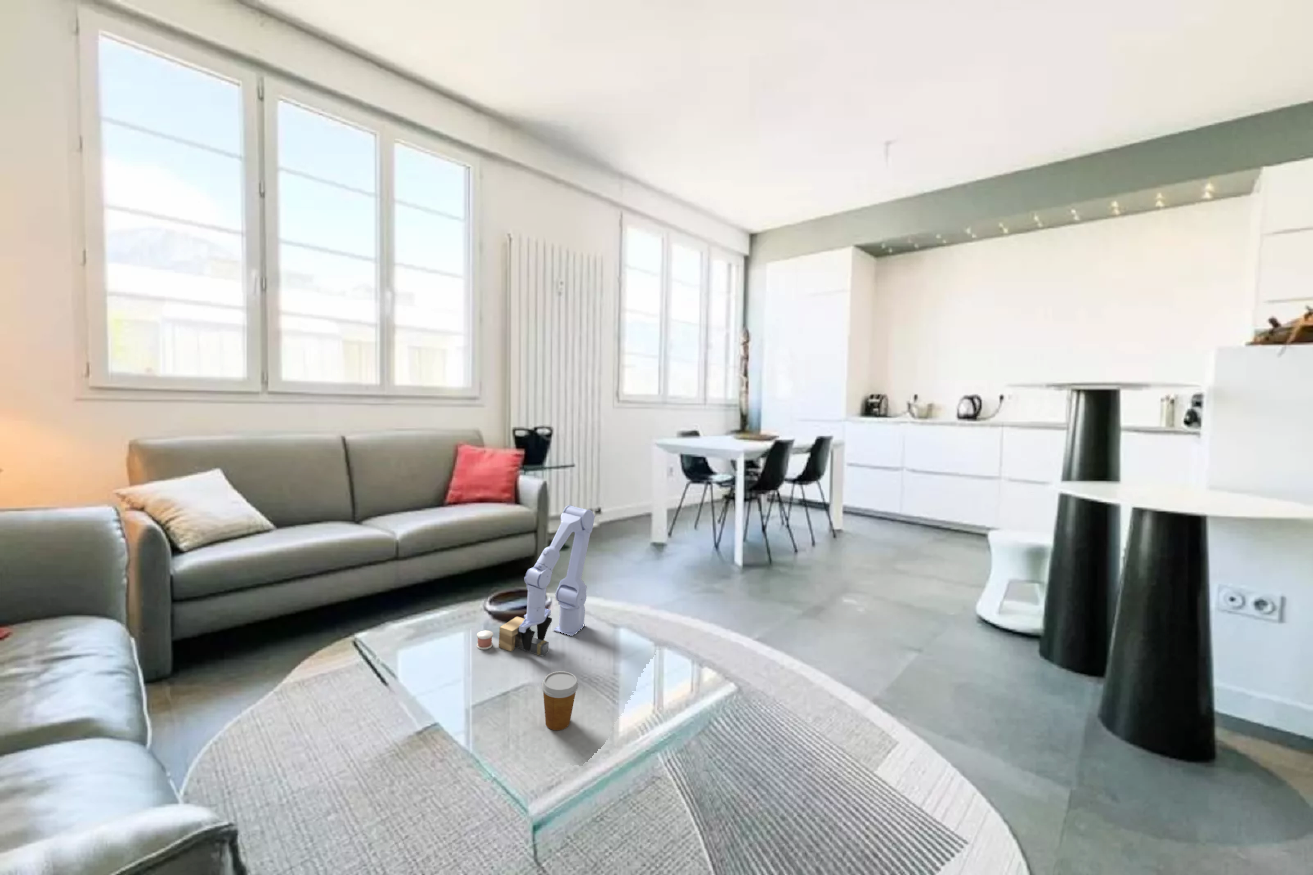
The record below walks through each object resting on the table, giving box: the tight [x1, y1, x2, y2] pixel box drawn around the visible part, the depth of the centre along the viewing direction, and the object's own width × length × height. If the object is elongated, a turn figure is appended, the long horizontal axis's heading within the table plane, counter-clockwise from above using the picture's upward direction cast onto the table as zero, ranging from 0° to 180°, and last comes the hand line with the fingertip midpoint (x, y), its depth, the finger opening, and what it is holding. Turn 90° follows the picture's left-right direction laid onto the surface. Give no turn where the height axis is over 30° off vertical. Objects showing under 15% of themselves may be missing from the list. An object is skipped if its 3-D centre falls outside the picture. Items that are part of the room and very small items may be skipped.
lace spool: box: [476, 630, 494, 650], centre depth 182 cm, size 5×5×4 cm
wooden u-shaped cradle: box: [498, 616, 525, 652], centre depth 185 cm, size 9×5×7 cm, turn 157°
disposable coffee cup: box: [540, 670, 579, 731], centre depth 146 cm, size 10×10×12 cm
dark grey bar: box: [515, 633, 550, 657], centre depth 183 cm, size 3×16×4 cm, turn 67°
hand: (534, 644), depth 182 cm, fingers open, 7 cm apart
